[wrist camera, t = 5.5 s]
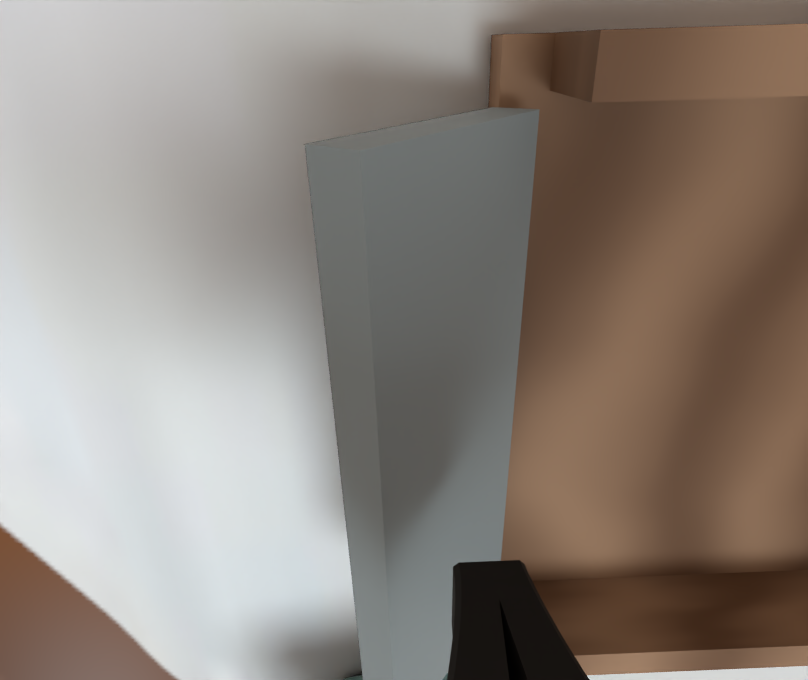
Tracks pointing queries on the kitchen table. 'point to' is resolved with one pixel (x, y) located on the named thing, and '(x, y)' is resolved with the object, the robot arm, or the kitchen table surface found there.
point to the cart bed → (664, 344)
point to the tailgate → (422, 359)
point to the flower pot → (360, 678)
